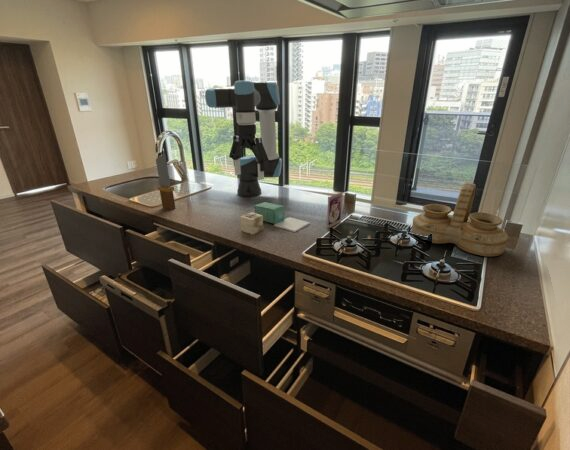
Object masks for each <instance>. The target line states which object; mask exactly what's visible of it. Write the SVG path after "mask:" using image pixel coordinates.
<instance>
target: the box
mask: <svg viewBox="0 0 570 450" xmlns="http://www.w3.org/2000/svg"><path fill="white" fill-rule="evenodd" d="M285 211H286V210H285V206H284V205H280V204H276V203H272V202H271V203H270V202H268V201H267V202H266V201H264V202H261V203H257V204H254V213H256V214H260V215H263V222H266V223H270V224H273V225H274V224H276V223H278V222H281V221H283V220H285V219H286V217H285V216H286V215H285V214H286V213H285Z"/></svg>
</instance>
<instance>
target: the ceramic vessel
mask: <svg viewBox="0 0 570 450" xmlns="http://www.w3.org/2000/svg"><path fill="white" fill-rule="evenodd" d="M476 188H477V185H476V184H475V183H474V182H470V181H469V182H468V181H466V182H464V184H463V185H462V186H461V189H460V191H459V194H458V196H457V200H456V204H455V206H454V210H452V208H451V207H450V206H448V205H444V204H438V203H429V204H427V203H426V204H425V205H423V206H422V210H423V211H424V212H422V213H420V214H416V215H415V216H414V217H412V226H411V233H412V232H413V233H414V234H418V235H422V236H428V235H430V234H432V243H431V244H449V243H450V244H454V245H456V247H457V248H458V249H461V250H463V251H465V252H467V253H470V254H474V255H478V256H482V257H497V256H500V255H502V254H504V252H505V251H506V248H507V243H508V240H509V235H508V233H507V232H506V231H505V230H504V229H503V228H501V227H498V226H500V225H501V224H502V223H503V219H502V218H500V216H497V215H495V214H492V213H487V212H477V211H476V212H472V213H471V211H472V207H473V202H474V199H475V195H476ZM452 211H453V214H452V216H450V215H449V214H451V213H452ZM469 219H470V220H471V221H469Z"/></svg>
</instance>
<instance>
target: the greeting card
mask: <svg viewBox="0 0 570 450" xmlns="http://www.w3.org/2000/svg"><path fill="white" fill-rule="evenodd" d="M327 194H328V195H327V213H326V229H329V228H332V227H333V226H335V225H337V224H339V223H341V220H342V208H343V207H342V206H343V194H344V193H343V191H341V192H338V193H335V194H333V195H331V196H329V194H330V193H329V190H328V192H327Z"/></svg>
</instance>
